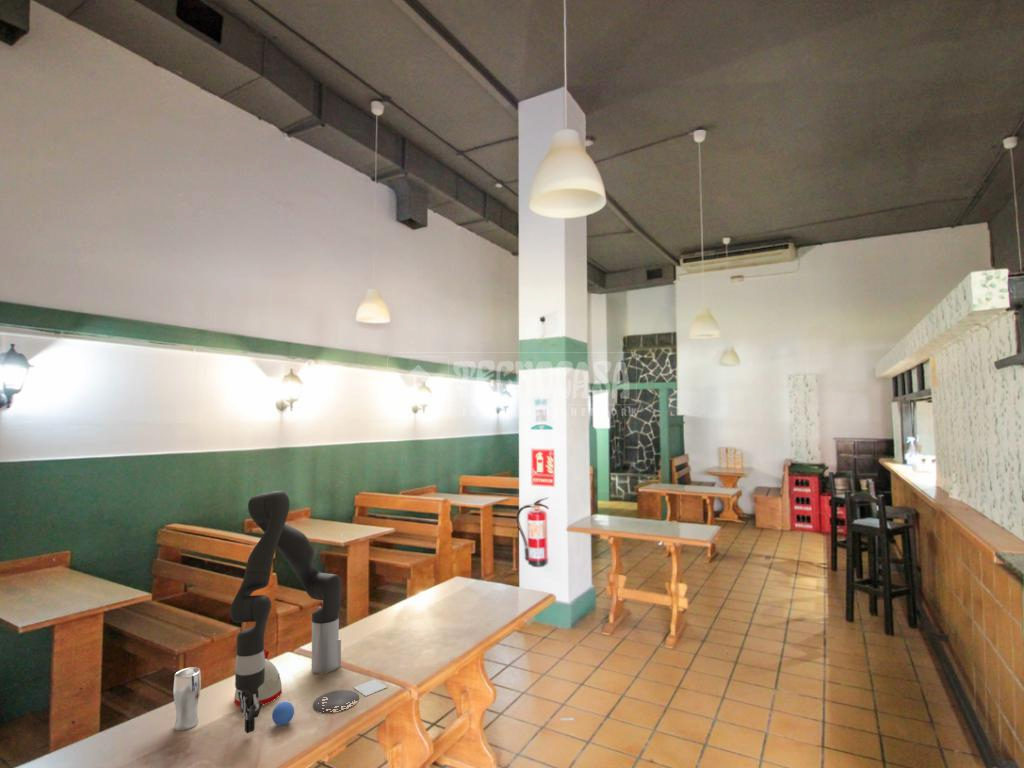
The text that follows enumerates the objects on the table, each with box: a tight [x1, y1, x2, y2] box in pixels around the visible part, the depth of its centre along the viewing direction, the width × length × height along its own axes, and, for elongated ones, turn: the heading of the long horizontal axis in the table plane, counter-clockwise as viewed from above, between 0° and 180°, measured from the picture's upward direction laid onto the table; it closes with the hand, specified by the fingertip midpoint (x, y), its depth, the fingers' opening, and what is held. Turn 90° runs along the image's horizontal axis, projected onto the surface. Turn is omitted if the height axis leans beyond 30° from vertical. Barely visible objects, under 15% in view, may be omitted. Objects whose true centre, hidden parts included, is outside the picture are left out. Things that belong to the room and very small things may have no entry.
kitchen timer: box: [234, 648, 283, 708], centre depth 174 cm, size 14×14×15 cm
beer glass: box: [172, 667, 202, 732], centre depth 158 cm, size 7×7×15 cm
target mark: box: [312, 689, 360, 714], centre depth 169 cm, size 14×14×1 cm
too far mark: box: [353, 679, 388, 697], centre depth 178 cm, size 8×8×1 cm
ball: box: [271, 701, 295, 726], centre depth 157 cm, size 6×6×6 cm
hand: (249, 731), depth 151 cm, fingers closed
